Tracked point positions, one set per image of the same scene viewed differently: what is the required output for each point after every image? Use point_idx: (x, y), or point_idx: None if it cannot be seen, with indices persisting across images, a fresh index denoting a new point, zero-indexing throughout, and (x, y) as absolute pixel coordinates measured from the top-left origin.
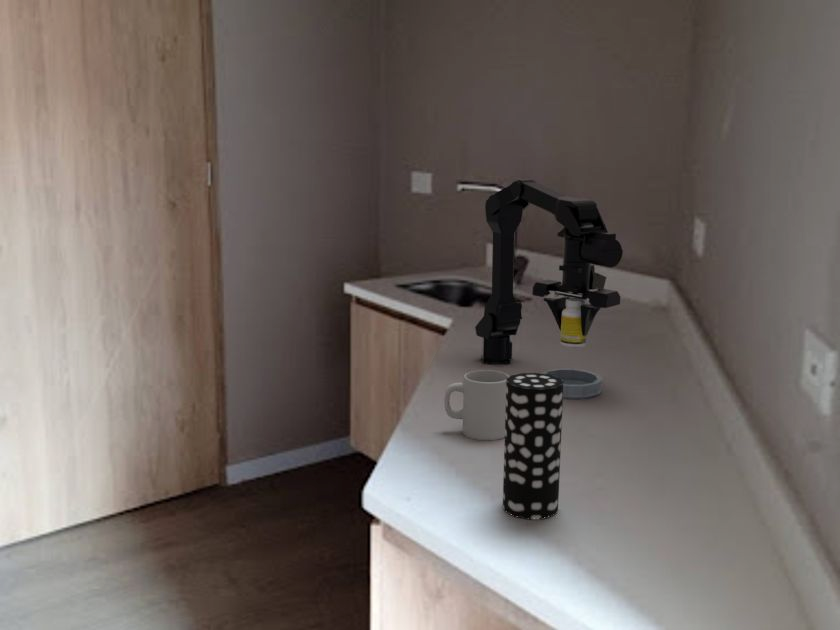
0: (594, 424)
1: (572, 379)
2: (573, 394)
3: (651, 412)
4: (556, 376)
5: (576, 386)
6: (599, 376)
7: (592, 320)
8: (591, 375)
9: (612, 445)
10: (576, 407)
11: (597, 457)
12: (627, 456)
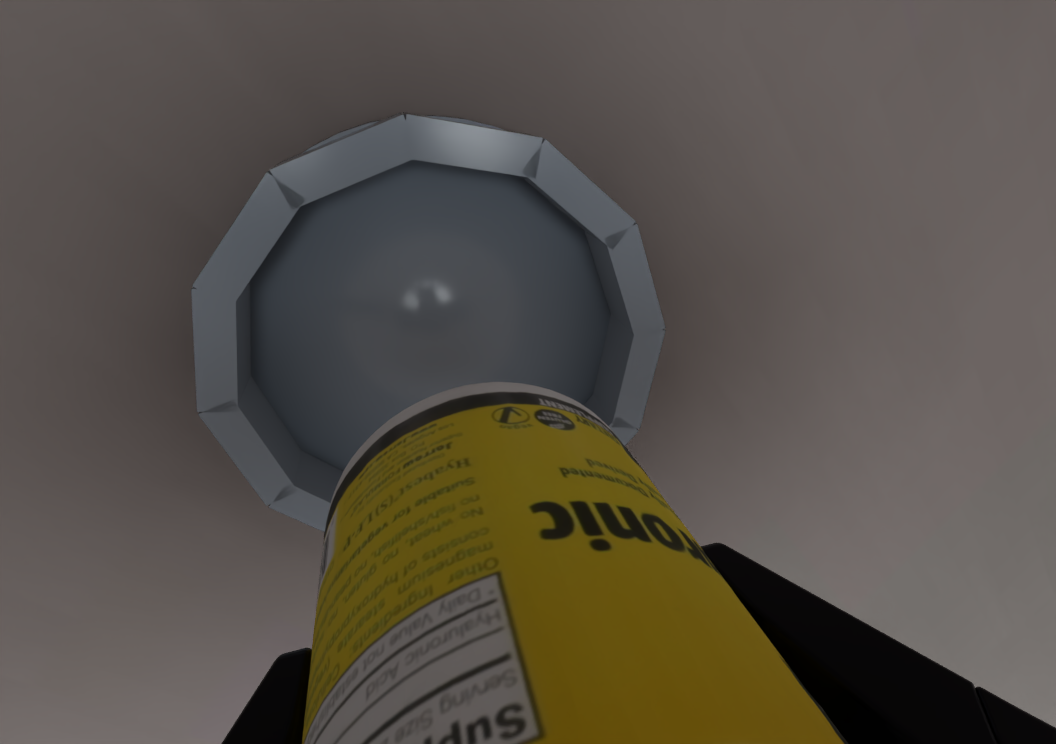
0: (825, 565)
1: (324, 212)
2: None
3: (958, 264)
4: (246, 314)
5: None
6: (574, 175)
7: (976, 708)
8: (485, 169)
9: (948, 626)
10: None
11: None
12: (1008, 639)
